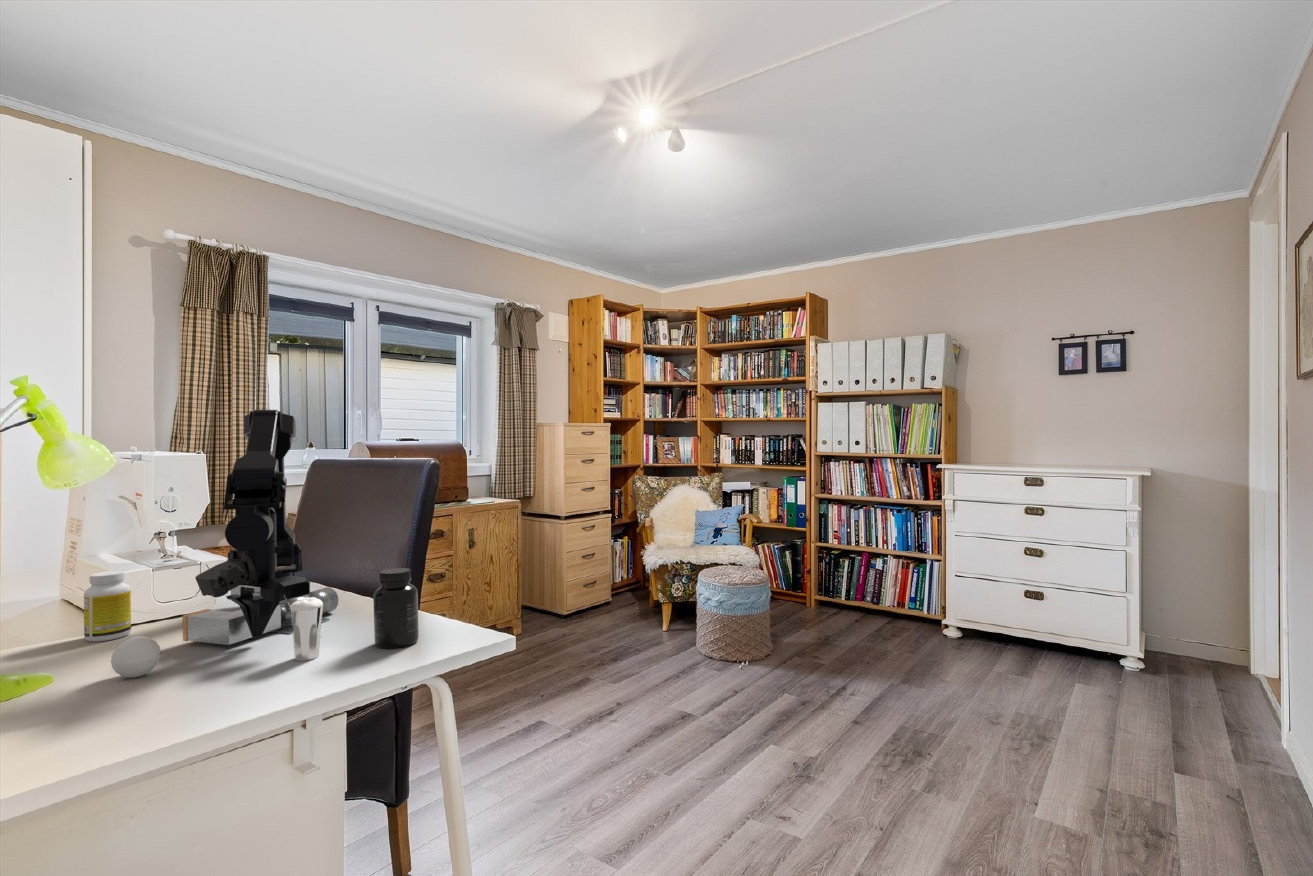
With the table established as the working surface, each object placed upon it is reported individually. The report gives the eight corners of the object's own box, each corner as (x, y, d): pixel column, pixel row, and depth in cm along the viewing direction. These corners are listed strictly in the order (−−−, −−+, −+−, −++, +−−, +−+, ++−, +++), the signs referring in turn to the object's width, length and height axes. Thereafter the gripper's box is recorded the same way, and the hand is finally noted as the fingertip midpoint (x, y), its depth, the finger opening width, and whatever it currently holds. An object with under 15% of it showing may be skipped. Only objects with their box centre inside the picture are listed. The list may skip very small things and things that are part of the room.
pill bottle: (140, 632, 115) (140, 569, 115) (107, 643, 109) (107, 577, 109) (108, 631, 116) (108, 569, 116) (74, 642, 109) (73, 576, 109)
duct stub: (309, 610, 128) (309, 585, 128) (347, 614, 126) (347, 588, 126) (249, 630, 115) (249, 602, 115) (290, 634, 113) (289, 605, 113)
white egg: (162, 677, 93) (162, 637, 93) (110, 687, 89) (110, 646, 89) (160, 663, 99) (160, 626, 99) (112, 671, 95) (111, 633, 95)
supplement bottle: (408, 634, 112) (407, 564, 112) (425, 643, 107) (425, 570, 107) (367, 643, 107) (366, 570, 107) (383, 652, 102) (383, 576, 103)
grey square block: (238, 624, 117) (237, 600, 117) (280, 628, 114) (280, 604, 114) (182, 641, 107) (182, 615, 107) (228, 645, 104) (228, 619, 104)
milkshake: (287, 655, 101) (286, 591, 102) (325, 651, 103) (324, 588, 103) (281, 664, 97) (280, 598, 97) (321, 660, 99) (320, 594, 99)
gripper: (168, 545, 103) (169, 644, 103) (244, 553, 96) (245, 660, 96) (238, 536, 113) (239, 625, 113) (312, 542, 106) (312, 638, 106)
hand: (256, 636), depth 107 cm, fingers closed
